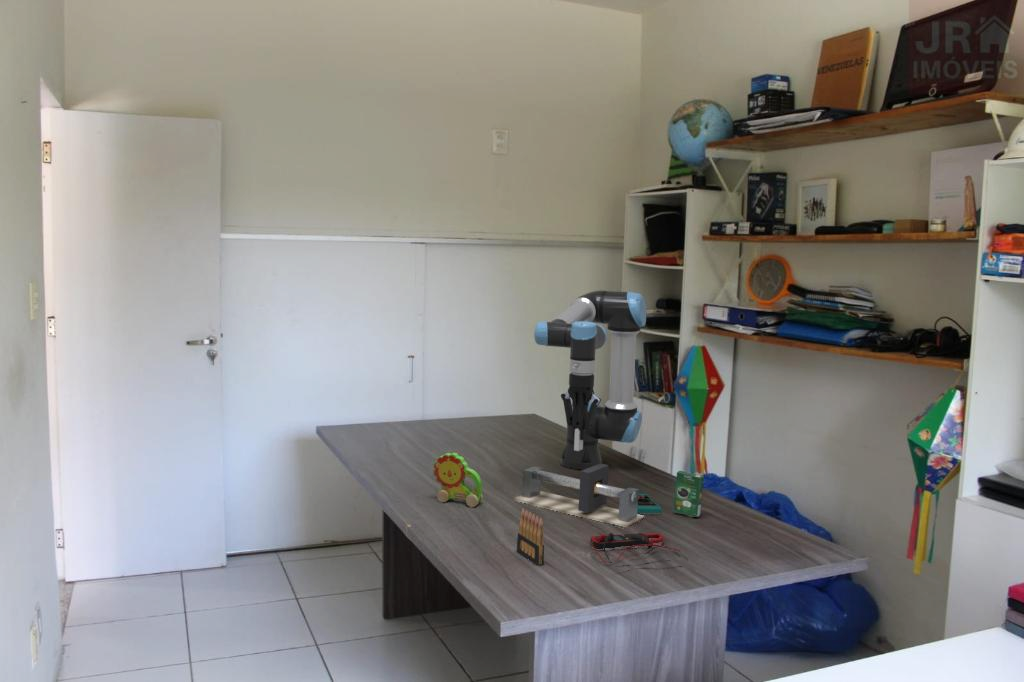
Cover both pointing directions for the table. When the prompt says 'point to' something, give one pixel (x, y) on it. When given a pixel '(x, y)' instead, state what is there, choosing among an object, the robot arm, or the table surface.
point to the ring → (592, 487)
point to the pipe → (535, 476)
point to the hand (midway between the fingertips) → (578, 449)
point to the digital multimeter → (647, 505)
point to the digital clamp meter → (625, 541)
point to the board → (575, 508)
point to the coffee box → (688, 493)
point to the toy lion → (456, 479)
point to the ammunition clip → (531, 538)
